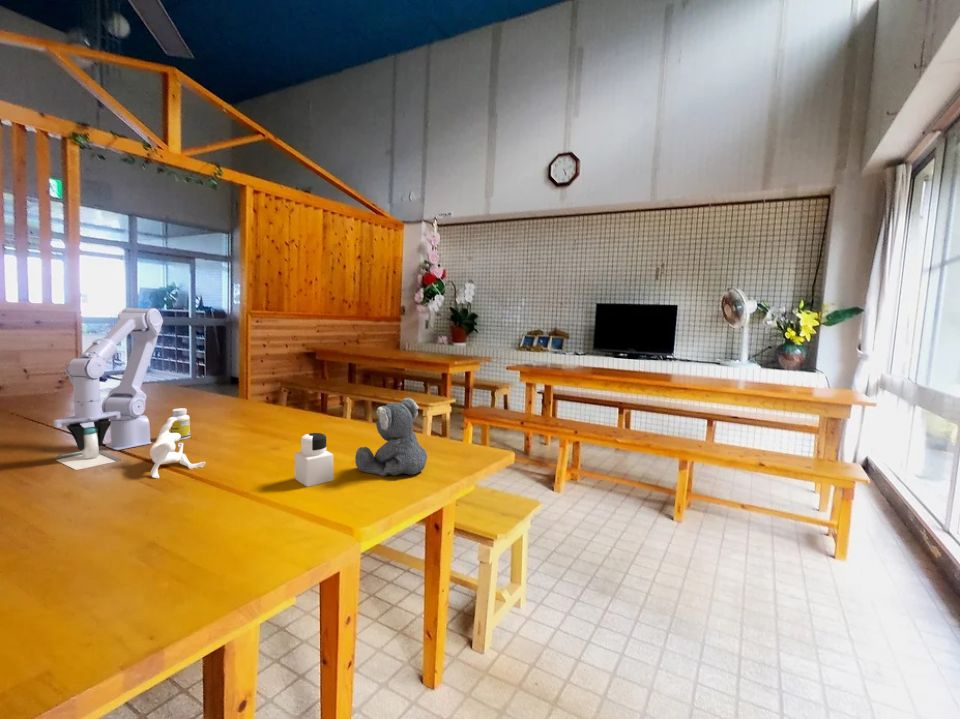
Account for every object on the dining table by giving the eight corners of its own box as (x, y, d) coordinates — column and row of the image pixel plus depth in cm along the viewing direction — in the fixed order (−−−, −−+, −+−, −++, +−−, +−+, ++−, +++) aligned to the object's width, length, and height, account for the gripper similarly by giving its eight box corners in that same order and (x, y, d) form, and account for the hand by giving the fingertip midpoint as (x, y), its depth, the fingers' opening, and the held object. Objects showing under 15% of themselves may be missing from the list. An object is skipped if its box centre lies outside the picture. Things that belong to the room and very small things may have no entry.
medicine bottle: (321, 473, 124) (320, 429, 123) (333, 480, 119) (333, 435, 118) (294, 479, 119) (294, 434, 118) (306, 487, 114) (306, 439, 113)
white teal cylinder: (96, 453, 134) (94, 426, 133) (101, 456, 132) (100, 428, 131) (80, 456, 131) (78, 428, 130) (85, 459, 129) (83, 430, 128)
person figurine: (201, 431, 123) (174, 410, 133) (146, 451, 114) (121, 427, 124) (210, 472, 128) (183, 448, 138) (158, 494, 118) (134, 467, 129)
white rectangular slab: (99, 451, 137) (99, 450, 137) (120, 460, 130) (120, 459, 130) (56, 460, 129) (56, 458, 129) (75, 470, 122) (75, 468, 122)
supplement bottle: (167, 438, 152) (166, 409, 152) (184, 435, 157) (183, 407, 156) (177, 441, 150) (175, 411, 149) (193, 437, 155) (192, 408, 154)
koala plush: (393, 455, 141) (393, 392, 139) (440, 466, 132) (442, 399, 130) (350, 471, 126) (350, 400, 124) (400, 485, 117) (401, 409, 115)
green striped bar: (92, 451, 138) (92, 448, 138) (95, 452, 137) (94, 449, 137) (57, 457, 131) (57, 455, 131) (60, 459, 130) (59, 456, 130)
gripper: (59, 406, 122) (62, 456, 123) (124, 398, 134) (126, 444, 135) (49, 403, 125) (52, 451, 127) (113, 395, 138) (115, 440, 139)
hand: (90, 447), depth 131 cm, fingers closed on white teal cylinder, 4 cm apart
